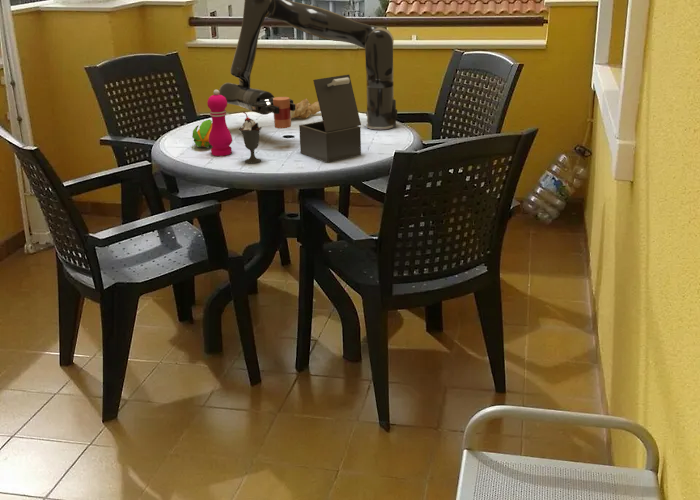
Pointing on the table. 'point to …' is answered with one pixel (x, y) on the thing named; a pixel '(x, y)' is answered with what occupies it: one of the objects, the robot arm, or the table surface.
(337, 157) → the open brown box
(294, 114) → the ginger root
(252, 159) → the sundae
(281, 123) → the tin can
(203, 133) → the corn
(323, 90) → the dark brown box lid
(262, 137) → the table surface
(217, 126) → the pepper mill
